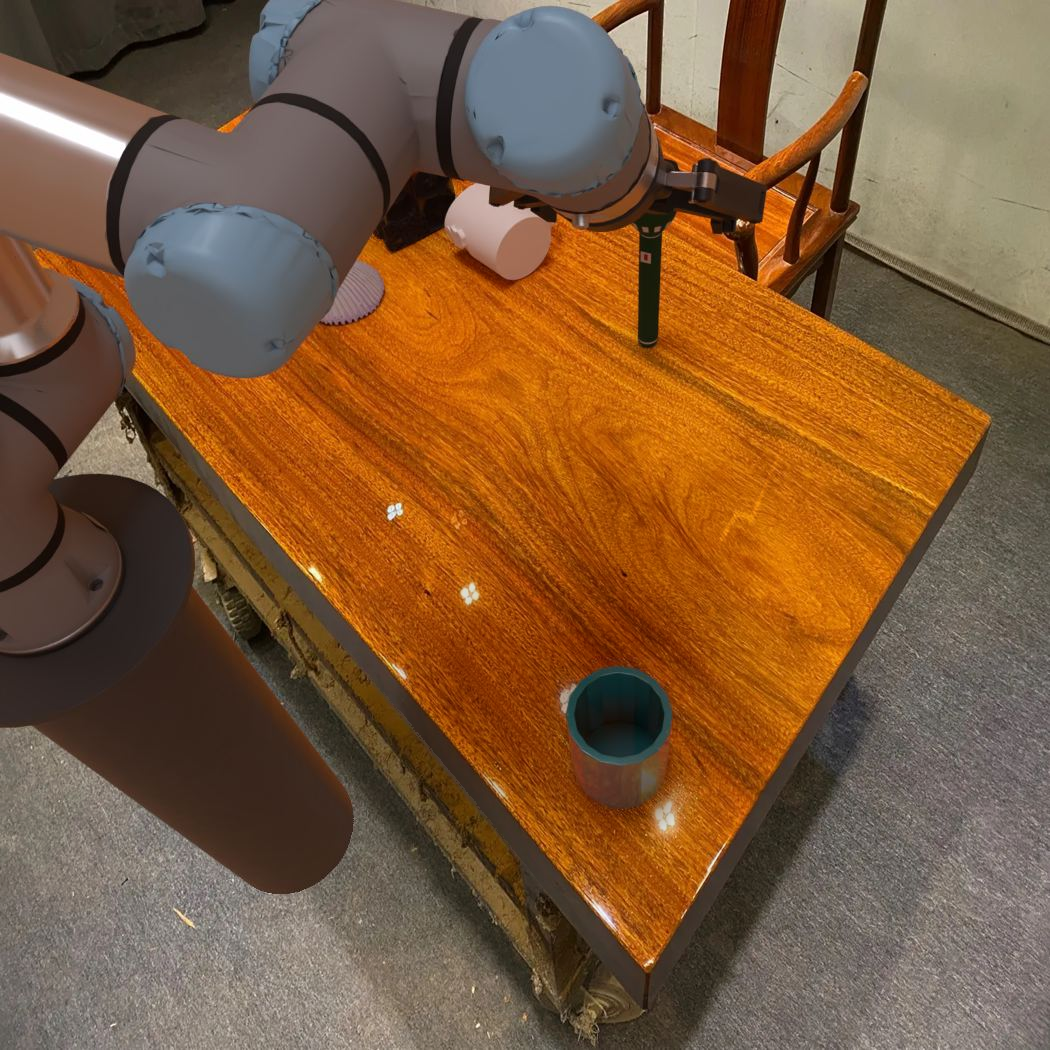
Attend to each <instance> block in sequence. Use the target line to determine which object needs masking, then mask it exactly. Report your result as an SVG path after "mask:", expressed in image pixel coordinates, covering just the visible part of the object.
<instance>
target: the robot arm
mask: <svg viewBox="0 0 1050 1050" xmlns="http://www.w3.org/2000/svg"><path fill="white" fill-rule="evenodd" d="M248 79H249V88H250V94H251V98H252V101H253V106H251V108H249V110H248V112H247V113H246V114H244V116H243V117H242V118H241V120H240V121H239V122H238V123H237V124H236V125H235V127H233V129H231V131H229V132H223V131H220V130H217V129H215V128H212V127H209V126H207V125H205V124H201V123H199V122H196V121H193V120H190V119H188V118H183V117H180V116H177V115H174V114H169V113H167V112H164V111H162V110H159V109H156V108H153V107H151V106H147V105H145V104H142V103H139V102H137V101H134V100H131V99H128V98H126V97H123V96H120V95H118V94H114V93H112V92H110V91H107V90H104V89H102V88H98V87H95V86H94V85H93V86H92V85H90V84H87V83H85V82H82V81H79V80H76V79H74V78H71V77H68V76H65V75H63V74H60V73H57V72H54V71H52V70H49V69H46V68H44V67H40V66H38V65H36V64H32V63H30V62H27V61H25V60H21V59H19V58H17V57H13V56H10V55H7V54H5V53H2V52H0V654H1V655H5V656H9V657H16V658H28V657H36V656H42V655H46V654H49V653H52V652H55V651H58V650H60V649H63V648H65V647H67V646H69V645H71V644H73V643H74V642H76V641H78V640H79V639H81V638H82V637H84V636H85V635H87V634H88V633H89V632H90V631H92V630H93V629H94V628H95V627H96V626H97V625H98V624H99V623H100V622H101V621H102V620H103V619H104V618H105V617H106V615H107V614H108V613H109V612H110V610H111V609H112V607H113V606H114V604H115V603H116V601H117V599H118V597H119V595H120V593H121V590H122V587H123V584H124V580H125V574H126V563H125V557H124V554H123V551H122V549H121V547H120V545H119V544H118V542H117V541H116V540H115V538H114V537H113V536H112V535H111V534H110V532H109V531H108V530H107V529H106V528H105V527H104V526H102V525H101V524H100V523H99V522H97V521H96V520H95V519H94V518H92V517H91V516H89V515H87V514H85V513H83V512H82V513H83V514H84V515H83V514H80V513H78V512H76V511H74V510H72V509H70V508H68V507H66V506H64V505H61V504H59V503H58V502H57V501H56V500H55V498H54V497H53V496H52V495H51V494H50V492H49V491H48V490H47V488H48V486H49V485H50V483H51V482H52V481H53V479H56V478H57V476H58V474H59V473H60V472H61V470H62V469H63V468H64V466H65V465H67V462H68V461H69V460H70V459H71V457H72V456H73V455H74V453H75V452H76V451H77V450H78V448H79V447H80V446H81V445H82V443H83V442H84V441H85V440H86V438H87V437H88V436H89V434H90V433H91V431H92V430H93V429H94V428H95V427H96V426H97V424H98V423H99V421H100V420H101V419H102V417H104V415H105V414H106V412H107V411H108V410H109V408H111V406H112V405H113V403H114V402H115V401H116V400H117V399H118V398H119V397H120V396H121V394H122V393H123V390H124V388H125V385H126V383H127V381H128V380H129V378H130V376H131V375H132V373H133V371H134V369H135V366H136V359H137V351H136V345H135V341H134V338H133V335H132V333H131V331H130V329H129V326H128V325H127V323H126V321H125V320H124V319H123V317H122V316H121V314H120V313H119V312H118V311H117V310H116V308H115V307H114V306H108V305H107V304H106V303H105V301H104V300H105V298H104V297H103V296H102V295H101V294H100V293H99V292H97V291H96V290H95V289H93V288H92V287H90V286H89V285H87V284H86V283H83V282H81V281H79V280H78V279H75V278H72V277H69V276H65V275H63V274H62V273H60V272H59V271H57V270H54V269H51V268H48V267H43V265H42V264H41V262H40V261H39V259H38V256H37V255H36V253H35V252H34V250H33V248H32V246H33V247H36V248H39V249H41V250H45V251H48V252H49V253H53V254H56V255H58V256H61V257H64V258H65V259H69V260H71V261H74V262H77V263H79V264H82V265H86V266H88V267H91V268H94V269H96V270H98V271H101V272H104V273H106V274H107V273H108V274H110V275H113V276H115V277H118V278H121V279H123V283H124V289H125V290H124V291H125V293H126V297H127V299H128V302H129V304H130V306H131V308H132V310H133V313H134V314H135V316H136V317H137V318H138V320H139V321H140V322H141V324H142V325H143V327H144V328H146V329H147V330H148V331H149V332H150V333H151V335H153V337H154V338H155V339H156V340H157V341H159V342H160V343H161V344H162V345H164V346H165V347H167V348H168V349H174V350H177V351H179V352H181V354H183V355H184V356H185V357H186V358H187V359H188V361H189V362H190V364H191V365H194V366H196V367H197V368H200V369H202V370H204V371H206V372H209V373H212V374H215V375H219V376H223V377H227V378H233V379H234V378H235V379H257V378H260V377H265V376H268V375H270V374H272V373H275V372H276V371H278V370H280V369H281V368H282V367H283V366H285V365H286V364H287V363H288V362H289V360H291V358H292V357H293V356H294V354H295V353H296V352H297V351H298V349H299V348H300V347H301V346H302V344H304V342H305V341H306V339H307V338H308V337H309V336H310V334H311V333H312V332H313V331H314V329H315V328H316V327H317V325H318V324H319V323H320V322H322V321H321V320H322V319H323V318H324V317H325V315H326V314H327V313H328V312H329V311H330V309H331V308H332V306H333V304H334V300H335V297H336V296H337V292H338V290H339V288H340V286H341V285H342V283H343V281H344V280H345V278H346V276H347V275H348V273H349V271H350V270H351V268H352V266H353V265H354V263H355V262H356V260H358V258H359V257H360V255H361V253H362V252H363V251H364V248H365V247H366V245H367V243H368V242H369V240H370V238H371V237H372V235H373V234H374V233H373V232H374V230H376V229H377V227H378V226H379V224H380V222H381V221H382V220H383V218H384V217H385V215H386V214H387V212H388V211H389V209H390V207H391V206H392V204H393V203H394V201H395V200H396V198H397V196H398V195H399V193H400V192H401V190H402V189H403V187H404V186H405V184H406V182H407V181H408V179H409V178H410V176H411V175H412V173H413V172H414V171H421V172H426V173H430V174H435V175H440V176H445V177H449V178H452V180H457V181H461V182H469V183H473V184H475V183H478V184H483V185H487V186H490V191H489V204H490V205H491V206H493V207H499V206H504V205H506V204H508V203H510V202H512V201H514V207H515V208H518V209H520V210H524V209H526V208H530V211H531V212H533V213H534V214H536V215H537V216H539V217H540V218H542V219H543V220H545V221H546V222H553V223H555V224H556V223H557V221H556V219H557V220H558V215H560V217H562V218H563V219H565V220H566V221H567V222H569V223H570V224H571V226H572V227H573V228H574V229H575V230H579V231H588V232H593V233H594V232H595V233H609V232H614V231H618V230H621V229H624V228H626V227H628V226H629V225H630V226H631V225H632V223H633V222H635V221H636V220H637V219H639V218H640V217H641V216H642V215H643V214H644V213H645V212H646V213H650V214H655V215H657V214H670V213H672V211H677V213H683V214H687V215H691V216H696V217H701V218H705V219H710V221H709V224H710V228H711V232H712V235H723V233H725V234H735V233H736V231H737V223H738V221H739V220H740V221H744V222H747V223H749V224H750V225H757V224H761V223H763V220H764V213H765V206H766V198H767V191H768V186H767V185H766V184H763V183H761V182H759V181H756V180H754V179H752V178H750V177H749V178H748V177H746V176H745V175H741V174H739V173H737V172H734V171H731V170H729V169H727V168H724V167H722V166H720V164H719V163H718V161H717V160H713V159H712V158H710V157H704V158H700V159H698V160H697V163H692V167H691V171H683V170H680V168H679V164H678V162H677V161H675V160H673V159H669V158H665V157H664V152H663V149H662V145H661V142H660V140H659V138H658V135H657V133H656V132H657V131H656V129H655V127H654V124H653V122H652V119H651V117H650V115H649V112H648V111H647V108H646V106H645V103H644V102H643V101H642V98H641V94H642V89H641V87H640V84H639V82H638V75H637V74H636V71H635V68H634V66H633V64H632V62H631V61H630V59H629V57H628V56H627V55H625V54H624V52H623V48H620V47H618V46H617V44H616V43H615V41H614V40H613V38H612V37H611V36H610V35H609V33H608V32H607V31H606V30H605V29H604V28H603V27H602V26H601V25H600V24H598V22H597V21H595V20H594V19H592V18H591V17H589V16H587V15H586V14H584V13H582V12H580V11H578V10H574V9H572V8H569V7H565V6H559V5H558V6H557V5H540V6H535V7H532V8H529V9H525V10H522V11H520V12H517V13H516V14H513V15H511V16H508V17H506V18H505V19H503V20H500V19H495V18H481V17H476V16H472V15H468V14H464V13H458V12H454V11H449V10H444V9H440V8H435V7H430V6H426V5H420V4H416V3H411V2H407V1H401V0H268V1H267V3H266V4H265V6H264V7H263V9H262V10H261V12H260V14H259V29H258V32H256V33H255V34H253V35H252V38H251V42H250V47H249V55H248ZM653 202H654V203H653ZM85 515H86V516H85Z"/></svg>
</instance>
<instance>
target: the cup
mask: <svg viewBox="0 0 1050 1050" xmlns="http://www.w3.org/2000/svg"><path fill="white" fill-rule="evenodd" d="M673 715H674V714H673V710H672V705H671V701H670V698H669V695H668V693H667V692H666V691H665V690H664V688H663V687H662V686H661V684H660V683H659V682H658V680H656V678H654V677H652V676H651V675H650V674H648V673H645V672H644V671H643V670H640V669H638V668H634V667H628V666H622V665H614V666H609V667H604V668H599V669H597V670H595V671H593V672H592V673H590V674H588V675H587V676H585V677H583V678H582V679H581V680H579V682H578V683H577V685H576V687H575V688H574V689H573V690H572V692H571V693H570V695H569V698H568V702H567V707H566V711H565V718H566V720H565V721H566V726H567V727H566V728H567V734H568V735H567V736H568V742H569V748H570V756H571V763H572V767H573V773H574V777H575V779H576V782H577V783H578V785H579V787H580V789H582V791H583V792H584V793H585V794H586V795H587V796H588V798H590V799H592V800H593V801H594V802H596V803H598V804H599V805H602V806H604V807H608V808H612V809H630V808H631V809H632V808H634V807H638V806H640V805H643V804H644V803H646V802H648V801H650V799H652V798H653V797H654V796H655V795H657V793H658V791H659V790H660V788H661V787H662V785H663V783H664V781H665V779H666V777H667V769H668V761H669V754H670V744H671V737H672V736H671V734H672V728H673V727H672V725H673Z"/></svg>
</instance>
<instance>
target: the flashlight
mask: <svg viewBox="0 0 1050 1050" xmlns="http://www.w3.org/2000/svg"><path fill="white" fill-rule="evenodd" d="M653 203H654V202H653ZM677 213H678V212H677V211H672V213H670V214H657V215H655V214H650V213H646V212H645V213H644V214H643V215H642V216H641V217H640V218H639V219H637V220H636V221H635V222H633V223H632V224H631V225H632V227H633V228H634V229H635V230H636V231H637V232H638V285H637V286H638V291H637V292H638V293H637V295H638V296H637V298H638V299H637V342H638V344H639V345H640V346H641V347H642V348H645V349H650V348H651V349H652V348H653V347H655V346H656V345H657V343H658V340H659V326H660V325H659V323H660V321H659V320H660V302H661V301H660V299H661V298H660V297H661V277H662V275H661V274H662V273H661V272H662V249H663V248H662V246H663V232H664V231H665V230H666V229H667V228H668V227H669V226H670V225H671V224H672V223H673V221H674V220H675V218H676V216H677V215H676V214H677Z"/></svg>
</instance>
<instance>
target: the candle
mask: <svg viewBox="0 0 1050 1050" xmlns="http://www.w3.org/2000/svg"><path fill="white" fill-rule="evenodd" d="M456 198H457V195H456V191H455V187H454V183H453V179H452V178H449V177H445V176H440V175H435V174H430V173H426V172H421V171H414V172H413V173H412V175H411V176H410V178H409V179H408V181H407V182H406V184H405V186H404V187H403V189H402V190H401V192H400V193H399V195H398V196H397V198H396V200H395V201H394V203H393V204H392V206H391V207H390V209H389V211H388V212H387V214H386V215H385V217H384V218H383V220H382V221H381V222H380V224H379V226H378V227H377V229H376V230H374V232H373V233H372V234H374V235H375V237H377V238H381V239H382V241H383V243H384V244H385V247H386V248H387V249H388V251H390V252H395V251H397V250H399V249H402V248H404V247H406V246H408V245H410V244H411V245H412V243H414V242H416V241H418V240H420V239H423V238H424V237H426V236H427V235H431V234H432V233H434V232H436V231H438V230H439V229H441V228H443V227H445V218H446V214H447V212H448V210H449V208H450V206H451V204H452V203H453V202H454V200H455V199H456Z"/></svg>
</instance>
